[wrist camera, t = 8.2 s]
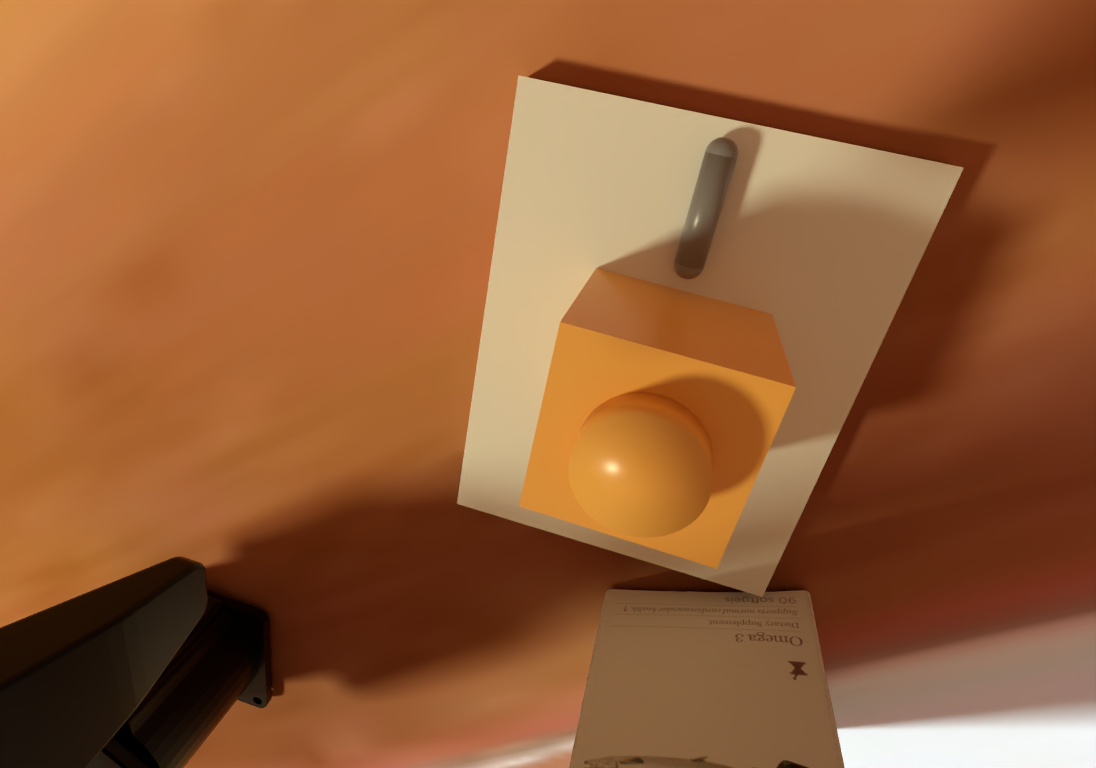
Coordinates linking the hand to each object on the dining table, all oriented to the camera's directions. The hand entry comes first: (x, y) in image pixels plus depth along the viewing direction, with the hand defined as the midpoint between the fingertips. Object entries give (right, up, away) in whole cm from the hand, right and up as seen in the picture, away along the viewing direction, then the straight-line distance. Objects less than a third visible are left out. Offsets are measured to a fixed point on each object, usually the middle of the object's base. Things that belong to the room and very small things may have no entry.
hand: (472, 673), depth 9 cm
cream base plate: (+5, +5, +10) cm, 12 cm away
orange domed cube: (+4, +5, +9) cm, 11 cm away
